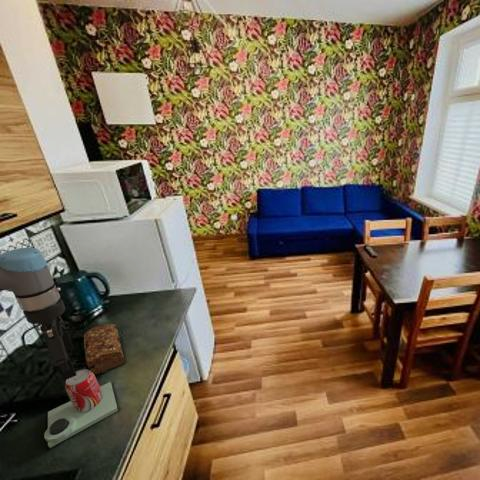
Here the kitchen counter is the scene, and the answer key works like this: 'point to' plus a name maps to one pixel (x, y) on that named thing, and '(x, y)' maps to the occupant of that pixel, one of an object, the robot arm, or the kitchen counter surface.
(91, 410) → the scale
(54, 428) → the button
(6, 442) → the kitchen counter surface
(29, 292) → the robot arm
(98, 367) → the bread
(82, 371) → the soda can
